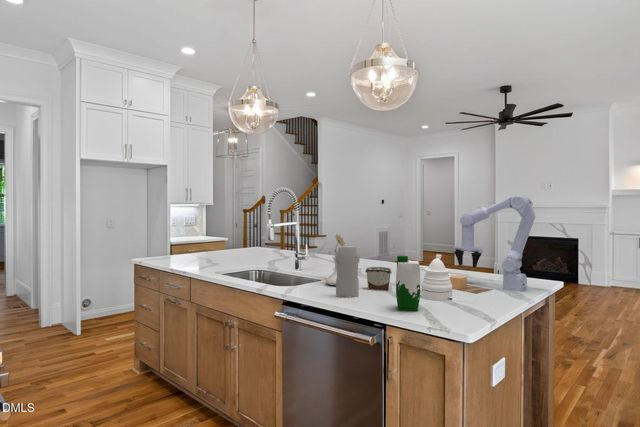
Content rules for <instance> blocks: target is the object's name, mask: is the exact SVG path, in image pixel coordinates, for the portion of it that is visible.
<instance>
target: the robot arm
mask: <svg viewBox="0 0 640 427" xmlns="http://www.w3.org/2000/svg"><path fill="white" fill-rule="evenodd" d="M533 204H534V203H533V202H532V200H531V199H530V198H529V196H527V195H518V194H516V195H514V196H512V197H508V198H505V199H503V200H501V201H499V202H497V203H494V204H493V205H490V206H489V207H485V206H482V207H481V206H479V207H477V209H476V210H474V211H469V212H468V213H464V214H463V215H461V216H460V218H459V223H460V225H461V246H459V245H455V246H454V245H453V251H454V252H453V253H454V255H455V257H456V260H457V263H458V266H463V263H464V262H463V261H464V259H463V258H464V253H465V252H467V253H468V252H470V253H471V259H472V268H477V267H478V266H477V265H478V263H479V262H478V261H479V260H480V258H481V256H482V253H483V248H480V247H475V225H476V224H477V223H480V222H483V221H484V220H486V219H489V218H490V216H491V214H493V213H496V212H499V211H501V210H502V211H503V210H504V209H507V208H509V209H510V208H511V209H512V208H513V209H514V210H515V211H516V212H517V213H518V214H519V215H520V217H521V220H520V223H519V225H518V228H517V230H516V232H515V236H514V239H513V242H512V245H511V248H510V250H509V251H508V253H507V255H506V257H505V259H503V260H502V262H501V267H502V269H503V271H502V289H503V290H506V291H515V292H518V293H519V292H520V293H521V292H524V291H525V292H526V291H528V290H527V288H528V287H527V286H528V278H527V275H526V274H525V273H522V272H521V270H520V268H521V267H522V266H523V263H522V260H523V253H524V248H525V247H526V243H527V241H528V238H529V236H530V233H531V231H532V227H533V225H534V221H535V219H536V213H535V210H534V207H533Z"/></svg>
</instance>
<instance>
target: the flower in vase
mask: <svg viewBox="0 0 640 427" xmlns="http://www.w3.org/2000/svg"><path fill="white" fill-rule="evenodd" d="M334 236H335V240H336V242H337V244H336V245H335V248H334V253H335V254H336V253H337V252H338V251H337V247H338V245H340V247H342V246H346V243H345V241H344V238H343V237H342V236H341V235H340V234H338V233H336V234H335V235H334ZM332 259H333V261H334V271H333V272H332V274H331V275H329V276H328V277H327V278H326V279H325V282H326V284H328V285H331V286H336V279H337V263H336V261H335V255H334V256H332Z"/></svg>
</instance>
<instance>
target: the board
mask: <svg viewBox="0 0 640 427" xmlns="http://www.w3.org/2000/svg"><path fill="white" fill-rule="evenodd" d="M452 290H455V291H460V292H464V293H465V292H466V293H470V294H475V295H477V294H482V293H487V292H489V291H493V290H494V289H492V288H487V287H481V286H477V285H476V286H475V285H472V284H471V285H469V284H467V288H465V289H454V288H452Z"/></svg>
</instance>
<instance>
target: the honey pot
mask: <svg viewBox="0 0 640 427" xmlns="http://www.w3.org/2000/svg"><path fill="white" fill-rule="evenodd" d="M442 256H443V255H442V254H435V258H434V259H432V261H431V262H429V263H430V264H429V265H428V267H426V268H425V269H424V271H425V274H424V277H423V279H422V282H421V286H420V298H422V299H425V300H430V301H437V300H440V302H442V301H444V300H445V301H452V299H453V298H452V297H453V289H452V284H451V281H450V277H451V276H449V272H450V271H449V269H448V268H446V266H445V264H444V262H443V261H442Z"/></svg>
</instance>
